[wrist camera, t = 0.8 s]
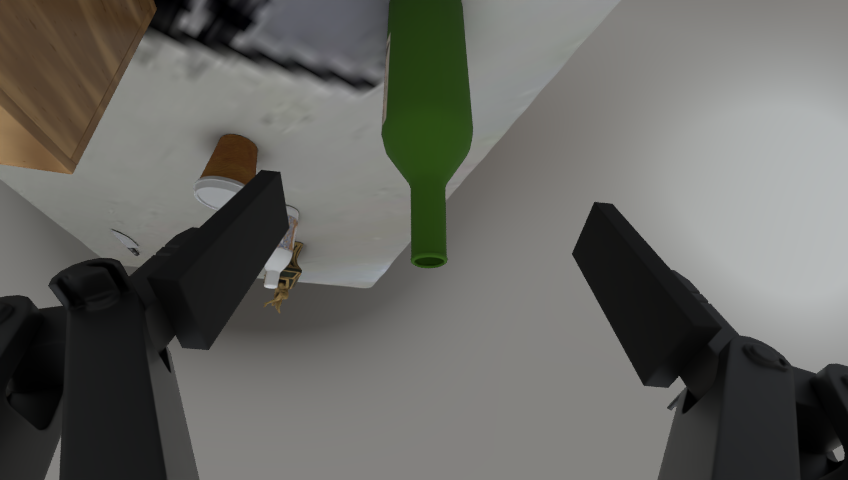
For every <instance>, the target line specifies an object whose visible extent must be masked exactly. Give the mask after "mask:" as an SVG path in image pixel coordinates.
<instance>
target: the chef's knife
mask: <svg viewBox="0 0 848 480" xmlns="http://www.w3.org/2000/svg"><path fill="white" fill-rule="evenodd" d="M111 231H112V232H113V233H114V235H115V236H116V237H117V238H118V239H119V240H120V241H121V242H122V243H123V244H124V245H125V246H126V247H127V248H128V249H129V250H130V251H131V252H132V253H133V254H134V255H136V256H138V255H139V253H138V252H136V251H135V250H134V249H133V248H137V247H138V246H137V245H136V244H135V243H134V242H133V241H132V240H131V239H130V238H128V237H126V236H124V235H122V234H120V233H118V232H116V231H113V230H111Z"/></svg>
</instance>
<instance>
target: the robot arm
mask: <svg viewBox="0 0 848 480" xmlns="http://www.w3.org/2000/svg"><path fill="white" fill-rule="evenodd" d="M289 228H290V227H289V221H288V215H287V209H286V203H285V197H284V191H283V185H282V179H281V174H280V172H276V171H266V170H261V171H260V172H259V173H258V174H257V175H256V176H255V177H253V178H252V179H251V180H250V181H249V182H248V183H247V184H246V185H245V186H244V187H243V188H242V189H241V190H240V191H238V192H237V193H236V194H235V195H234V196H233V197H232V198H231V199H230V200H229V201H228V202H227V203H226V204H225V205H223V206H222V207H221V208H220V209H219V210H218V211H217V212H216V213H215V214H214V215H213V216H212V217H211V218H210V219H208V220H207V221H206V222H205V223H204V224H203V225H202V226H201V227H200V228H194V227H192V228H190V229H188V230H186V231H184V232H182V233H180V234H178V235H176V236H175V237H174V238H172V239H171V240H170V241H169V242H168V243H167V244H166V245H165V247H162V248H161V249H160V250H159V251H158V252H157V253H156V255H153V256H152V257H151V258H150V259H149V260H147V261H146V262H145V263H144V264H143V265H142V266H141V267H139V268H138V269H137V270H136V271H135V272H134V273H133V274H132V275H131V276H128V275H127V273H126V271H125V269H124V267H123V266H122V264H121V263H120V261H118V260H115V259H112V258H98V259H92V260H87V261H84V262H81V263H78V264H75V265H72V266H70V267H68V268H66V269H65V270H62V271H61V272H59V273H58V274H57V275H56V276H54V277H53V278H52V279H51V281H50V283H49V285H48V286H49V287H50V289H51V290H52V291H53V293H54V294H55V295H56V297H57V298H58V299H59V301H60V302H61V303H62V305H63V306H58V307H50V308H42V309H38V308H37V307H36V306H35V305H34V303H33V302H32V301H31V300H30V299H29V298H28V297H25V296H20V295H16V296H5V297H0V480H44V479H45V476H46V474H47V471H48V468H49V466H50V463H51V460H52V457H53V455H54V452H55V450H56V447H57V444H58V442H59V439H60V436H61V455H60V479H59V480H199V476H198V471H197V467H196V463H195V459H194V454H193V450H192V445H191V440H190V436H189V432H188V427H187V424H186V418H185V414H184V410H183V406H182V401H181V396H180V392H179V388H178V384H177V379H176V375H175V370H174V366H173V362H172V357H171V353H170V351H169V349H168V347H167V345H168V344H169V342H170V341H171V340H172V339H173V337H174V336H175V335H176V337H177V339H178V340H179V342H180V344H181V346H182V348H190V349H202V350H209V349H210V347H211V346H212V344H213V343H214V341H215V339H216V338H217V337H218V335H219V334H220V332H221V331H222V329H223V327H224V326H225V325H226V323H227V322H228V320H229V319H230V317H231V316H232V314H233V312H234V311H235V309H236V308H237V306H238V305H239V303H240V302H241V300H242V299H243V297H244V296H245V294H246V293H247V291H248V290H249V288H250V287H251V285H252V284H253V282H254V281H255V279H256V278H257V276H258V275H259V273H260V272H261V270H262V269H263V267H264V266H265V264H266V263H267V261H268V260H269V258H270V257H271V255H272V254H273V252H274V251H275V249H276V248H277V246H278V245H279V243H280V242H281V240H282V239H283V237H284V236H285V234H286V233H287V231H288V230H289ZM572 255H573V257H574V258H575V260H576V262H577V264H578V266H579V268H580V270H581V271H582V273H583V275H584V277H585V279H586V281H587V282H588V284H589V286H590V288H591V290H592V292H593V293H594V295H595V297H596V299H597V301H598V303H599V304H600V306H601V308H602V310H603V312H604V314H605V315H606V317H607V319H608V321H609V322H610V324H611V326H612V328H613V330H614V332H615V334H616V336H617V337H618V339H619V341H620V343H621V345H622V347H623V348H624V350H625V352H626V354H627V356H628V358H629V359H630V361H631V363H632V365H633V367H634V368H635V370H636V372H637V374H638V376H639V378H640V379H641V381H642V383H643V385H644V386H654V387H665V388H668V387H669V386H670V385H671V384H672V383H673V382H674V381H675V380H676V378H678V376H680V377H681V379H682V380H683V382H684V383H685V385H686V388H685V389H684V390H683V391H682V392H681V393H680V394H679V395H678V396H677V397H676V398H675V399H674V400H673V401H672V402H671V403H670V405H669V406H668V407H667V408H668V409H670V410H672V409H673V408H674V407H675V406H677V408H676V412H675V415H674V419H673V423H672V427H671V431H670V434H669V438H668V442H667V446H666V450H665V453H664V457H663V462H662V465H661V469H660V472H659V476H658V480H848V366H844V365H840V364H829V365H827V366H826V367H825V368H823V369H822V370H821V371H819V372H818V373H817V374H816V373H813V372H809V371H806V370H803V369H800V368H797V367H793V366H791V364H790V363H789V362H788V361H787V360H786V359H785V357H784V356H783V355H781V354H780V353H779V352H777V351H776V350H775V349H773V348H772V347H770V346H769V345H767V344H765V343H763V342H761V341H759V340H756V339H754V338H751V337H746V336H740V335H739V334H738V333H737V332H736V331H735V330H734V329H733V328H732V327H731V326H730V325H729V323H728V322H727V321H726V320H725V319H724V318H723V317H722V316H721V315H720V313H719V312H718V311H717V310H716V309H715V308H714V307H713V306H712V305H711V304H709V303H708V300H707V299H706V298H705V297H704V296H703V295H702V294H700V292H699V291H698V290H697V288H696V287H695V286H694V285H693V284H692V283H691V282H690V281H689V280H688V279H686V278H685V277H683V276H682V275H680V274H679V273H678V272H676V271H674V270H671V269H670V268H669V267H668V266H667V265H666V264H665V263H664V262H663V260H662V259H661V258H660V257H659V256H658V255H657V254H656V252H655V251H654V250H653V249H652V248H651V247H650V246H649V245H648V244H647V242H646V241H645V240H644V239H643V238H642V237H641V236H640V235H639V233H638V232H637V231H636V230H635V229H634V228H633V227H632V225H631V224H630V223H629V222H628V221H627V220H626V219H625V218H624V217H623V215H622V214H621V213H620V212H619V211H618V210H617V209H616V207H615V206H614V205H613V204H609V203H599V202H594V204H593V206H592V209H591V211H590V214H589V216H588V218H587V220H586V223H585V225H584V227H583V230H582V232H581V234H580V237H579V239H578V241H577V244H576V246H575V248H574V250H573V253H572ZM841 445H842V446H843V449H844V452H845V457H844V460H842V461H839V462H838V461H837V459H836V458H835V455H834V453H833V451H832V450H834V449H835V448H837V447H839V446H841Z"/></svg>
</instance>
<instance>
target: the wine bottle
mask: <svg viewBox="0 0 848 480" xmlns="http://www.w3.org/2000/svg"><path fill="white" fill-rule="evenodd" d="M381 135H382V138H383V142H384V147H385V150H386V154H387V155H388V157H389V158H390V159H391V161H392V162H393V163H394V165H395V166H396V167H397V169H398V170H399V171H400V173H401V174H402V175H403V177H404V178H405V179H406V181H407V182H408V183H409V185H410V188H411V262H412V264H413V265H415V266H418V267H421V268H435V267H440V266H442V265H444V264H446V263H447V256H446V255H447V254H446V202H445V187H446V184H447V183H448V181H449V180H450V179H451V177H452V176H453V174H454V173H455V172H456V170H457V169H458V167H459V166H460V165H461V163H462V162H463V160H464V159H465V158H466V156H467V154H468V152H469V150H470V146H471V141H472V135H473V124H472V112H471V101H470V89H469V77H468V66H467V54H466V43H465V31H464V20H463V8H462V3H461V0H390V3H389V16H388V33H387V48H386V65H385V82H384V99H383V117H382V134H381Z"/></svg>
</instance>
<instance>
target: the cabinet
mask: <svg viewBox="0 0 848 480" xmlns="http://www.w3.org/2000/svg"><path fill="white" fill-rule="evenodd" d="M156 10H157V7H156V5H155V2H154V0H0V164H3V165H10V166H17V167H24V168H31V169H38V170H45V171H52V172H59V173H66V174H73V172H74V170H75V168H76V165H78V163H79V161H80V159H81V157H82V155H83V153H84V151H85V149H86V147H87V145H88V143H89V141H90V139H91V137H92V135H93V133H94V131H95V129H96V127H97V125H98V123H99V121H100V119H101V118H102V116H103V114H104V112H105V110H106V108H107V106H108V104H109V102H110V100H111V98H112V96H113V94H114V92H115V90H116V88H117V86H118V84H119V82H120V80H121V78H122V76H123V74H124V72H125V71H126V69H127V67H128V65H129V63H130V61H131V59H132V57H133V55H134V53H135V51H136V49H137V47H138V45H139V43H140V41H141V39H142V37H143V35H144V33H145V31H146V29H147V27H148V25H149V24H150V22H151V20H152V18H153V16H154V14H155V12H156Z"/></svg>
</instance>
